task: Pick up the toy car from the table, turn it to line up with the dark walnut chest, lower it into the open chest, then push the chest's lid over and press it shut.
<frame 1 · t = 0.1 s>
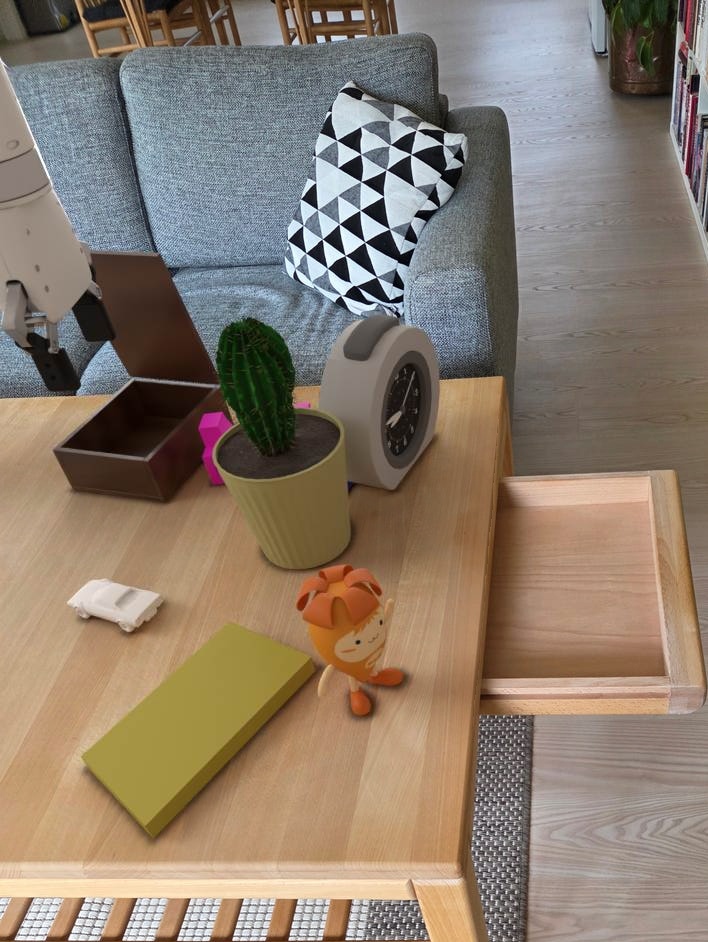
hand: (84, 363, 86), 30 cm above the table, tool pointing down, fingers open, 9 cm apart
alarm clock: (390, 459, 122), on the table, touching credit card
chest: (156, 457, 128), on the table
toy car: (120, 612, 105), on the table
lid: (143, 320, 121), point 17 cm above the table, hinge at 80.0°
toy figure: (365, 687, 93), on the table
flat olive board: (199, 727, 91), on the table
toy block: (268, 467, 124), on the table, touching credit card
potted cactus: (308, 542, 111), on the table
credit card: (325, 481, 120), on the table, touching alarm clock, toy block
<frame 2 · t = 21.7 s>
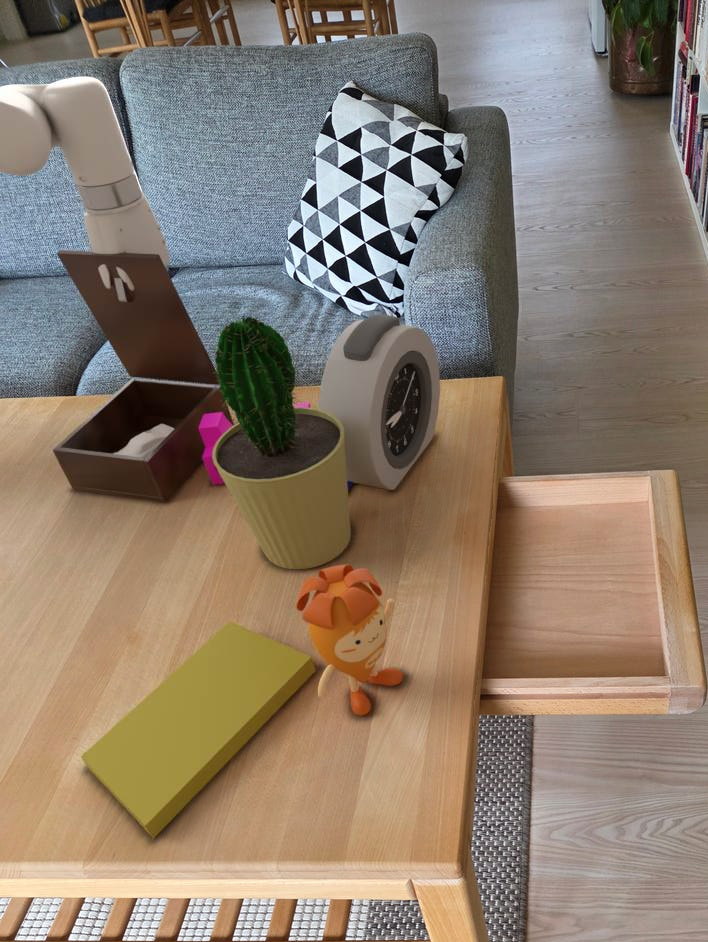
hand: (160, 327, 125), 15 cm above the table, tool pointing down, fingers closed
toy car: (147, 460, 127), point 1 cm above the table, touching chest
lid: (143, 320, 121), point 17 cm above the table, hinge at 79.1°, touching gripper
everything else where it was.
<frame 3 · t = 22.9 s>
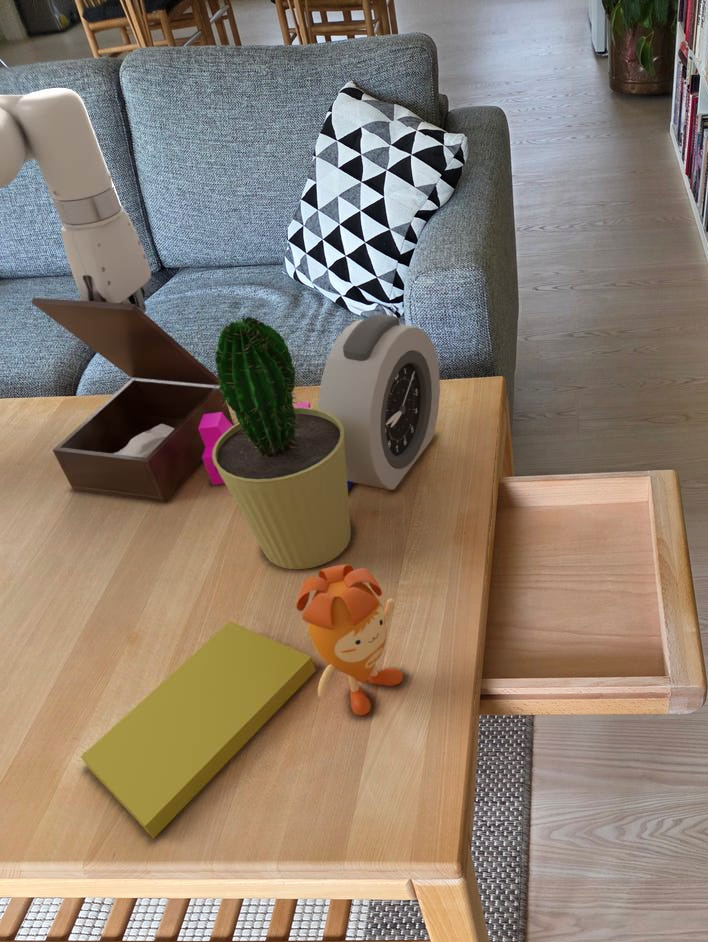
hand: (142, 343, 122), 15 cm above the table, tool pointing down, fingers closed
lid: (132, 344, 120), point 16 cm above the table, hinge at 55.9°, touching gripper
everything else where it was.
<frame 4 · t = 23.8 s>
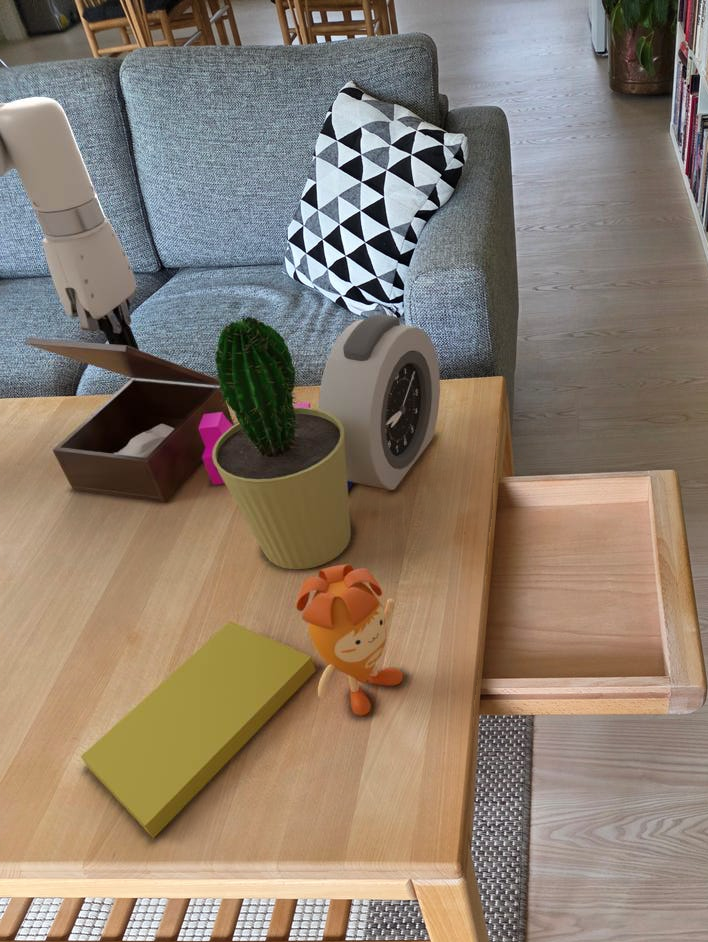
hand: (127, 355, 119), 15 cm above the table, tool pointing down, fingers closed
lid: (128, 363, 120), point 14 cm above the table, hinge at 41.1°
everything else where it was.
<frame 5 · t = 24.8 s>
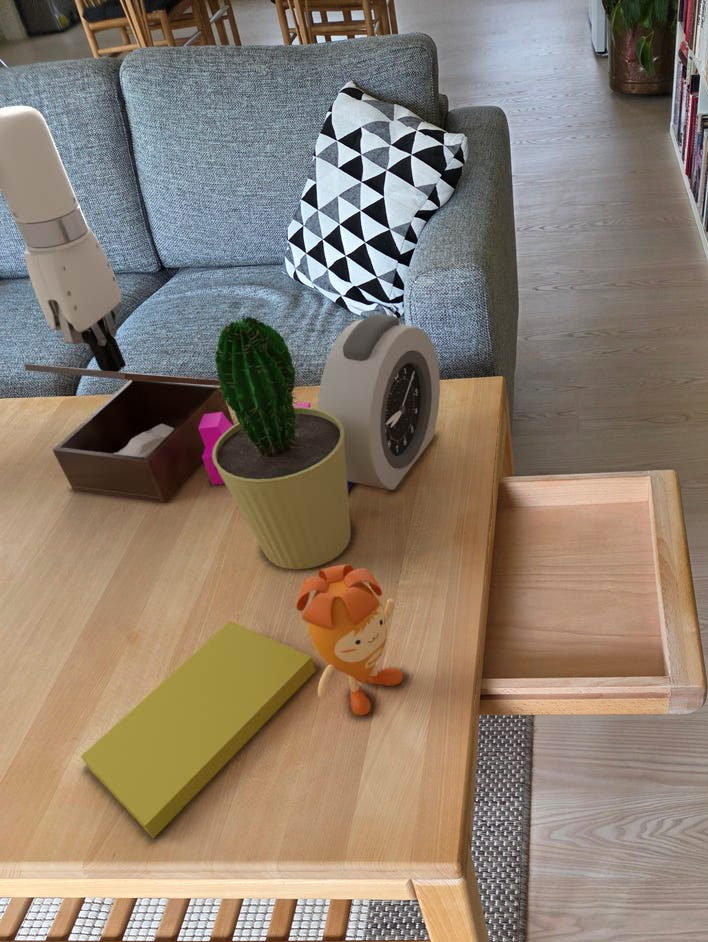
hand: (113, 367, 117), 15 cm above the table, tool pointing down, fingers closed
lid: (128, 375, 120), point 13 cm above the table, hinge at 31.7°, touching gripper
everything else where it was.
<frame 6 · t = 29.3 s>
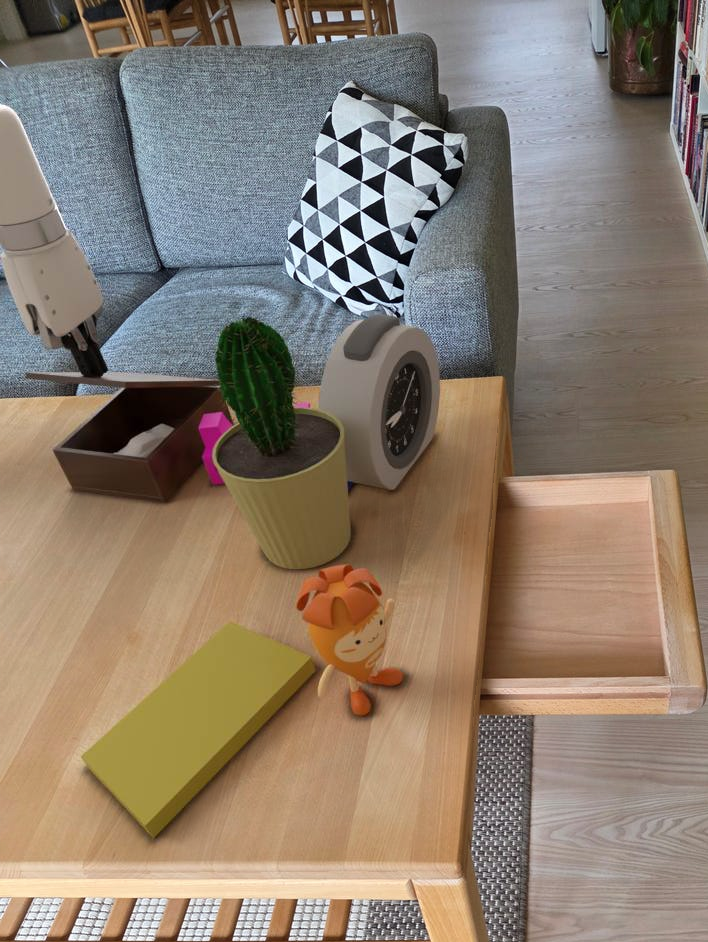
hand: (95, 373, 114), 16 cm above the table, tool pointing down, fingers closed
lid: (128, 379, 120), point 12 cm above the table, hinge at 28.8°
everything else where it was.
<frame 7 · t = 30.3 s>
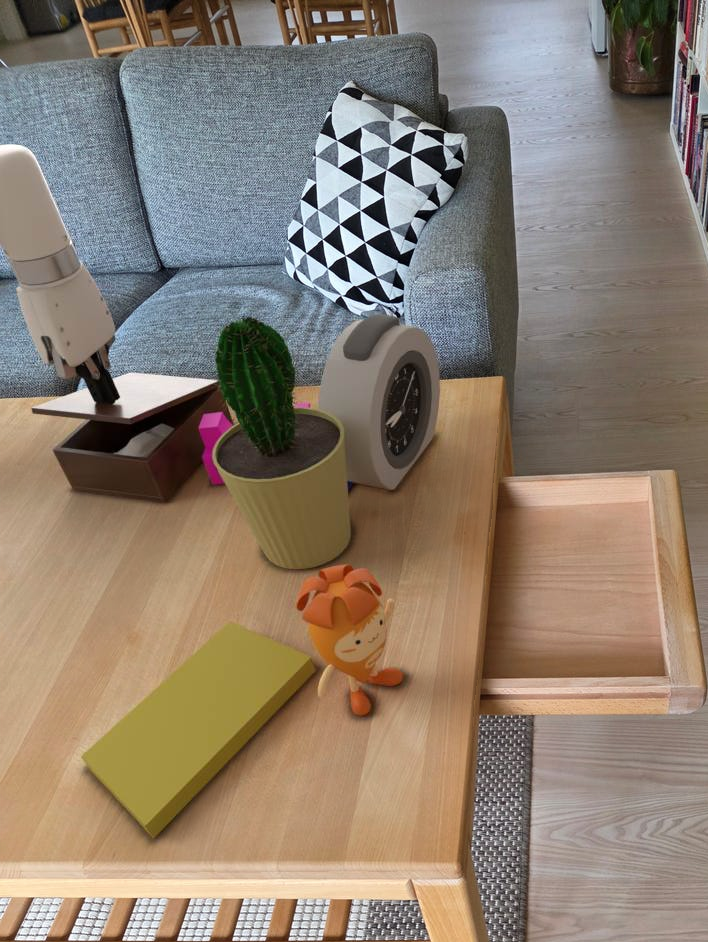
hand: (107, 400, 117), 12 cm above the table, tool pointing down, fingers closed
lid: (130, 396, 121), point 10 cm above the table, hinge at 16.1°, touching gripper
everything else where it was.
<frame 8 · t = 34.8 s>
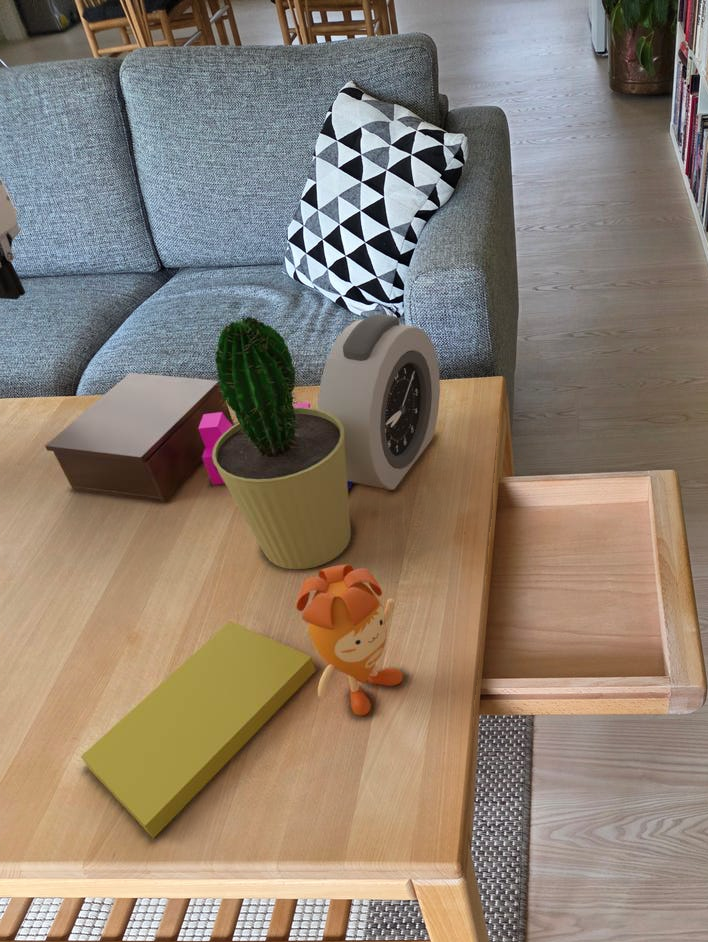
hand: (12, 295, 111), 25 cm above the table, tool pointing down, fingers closed
lid: (136, 414, 123), point 7 cm above the table, hinge at 1.0°
everything else where it was.
at the end: toy car inside the target area in the chest (1.9 cm from its centre), point 0.6 cm above the chest's base; lid at +1° (first picture: +80°) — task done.
